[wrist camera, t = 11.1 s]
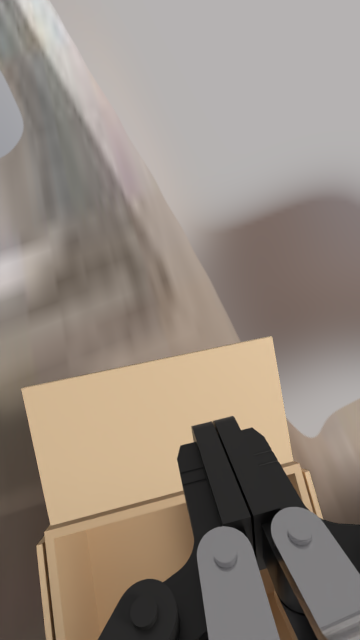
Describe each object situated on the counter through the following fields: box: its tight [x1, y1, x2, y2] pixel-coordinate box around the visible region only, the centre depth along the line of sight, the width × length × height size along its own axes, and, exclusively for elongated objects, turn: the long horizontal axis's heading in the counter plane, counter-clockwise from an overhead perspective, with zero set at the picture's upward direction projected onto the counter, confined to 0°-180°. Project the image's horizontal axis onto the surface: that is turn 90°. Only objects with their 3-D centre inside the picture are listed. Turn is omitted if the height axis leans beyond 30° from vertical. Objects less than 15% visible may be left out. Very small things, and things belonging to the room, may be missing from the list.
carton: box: [36, 461, 323, 640], centre depth 29 cm, size 21×15×11 cm
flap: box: [22, 336, 293, 526], centre depth 25 cm, size 19×1×10 cm
